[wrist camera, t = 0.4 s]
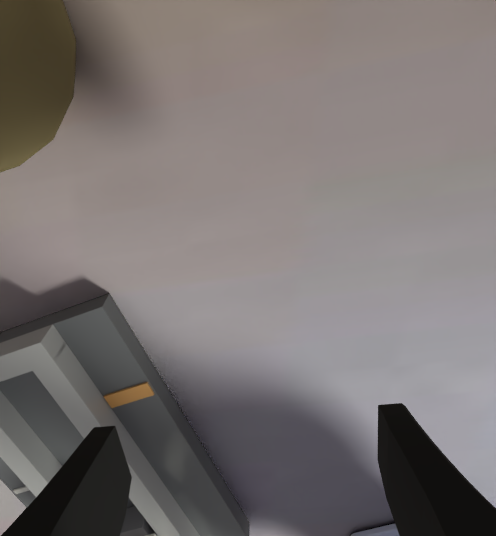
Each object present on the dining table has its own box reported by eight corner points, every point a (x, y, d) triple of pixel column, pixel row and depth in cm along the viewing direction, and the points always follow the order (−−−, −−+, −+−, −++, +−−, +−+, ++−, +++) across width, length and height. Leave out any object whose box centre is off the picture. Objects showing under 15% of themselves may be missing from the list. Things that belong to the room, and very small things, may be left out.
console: (249, 522, 30) (249, 564, 27) (97, 560, 32) (85, 602, 29) (109, 293, 22) (92, 324, 20) (-79, 361, 24) (-114, 396, 22)
